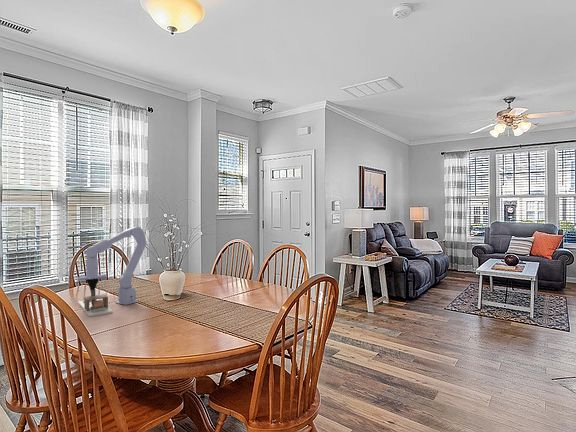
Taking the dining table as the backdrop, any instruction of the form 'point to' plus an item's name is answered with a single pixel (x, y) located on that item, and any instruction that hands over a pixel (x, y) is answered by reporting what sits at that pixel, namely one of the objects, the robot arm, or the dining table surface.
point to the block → (97, 304)
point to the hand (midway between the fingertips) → (92, 292)
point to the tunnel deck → (87, 302)
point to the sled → (92, 303)
